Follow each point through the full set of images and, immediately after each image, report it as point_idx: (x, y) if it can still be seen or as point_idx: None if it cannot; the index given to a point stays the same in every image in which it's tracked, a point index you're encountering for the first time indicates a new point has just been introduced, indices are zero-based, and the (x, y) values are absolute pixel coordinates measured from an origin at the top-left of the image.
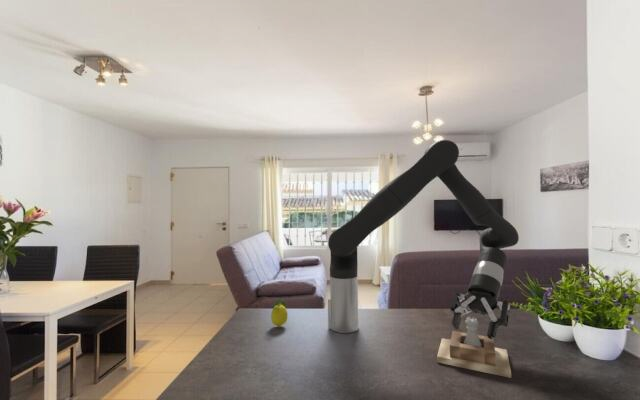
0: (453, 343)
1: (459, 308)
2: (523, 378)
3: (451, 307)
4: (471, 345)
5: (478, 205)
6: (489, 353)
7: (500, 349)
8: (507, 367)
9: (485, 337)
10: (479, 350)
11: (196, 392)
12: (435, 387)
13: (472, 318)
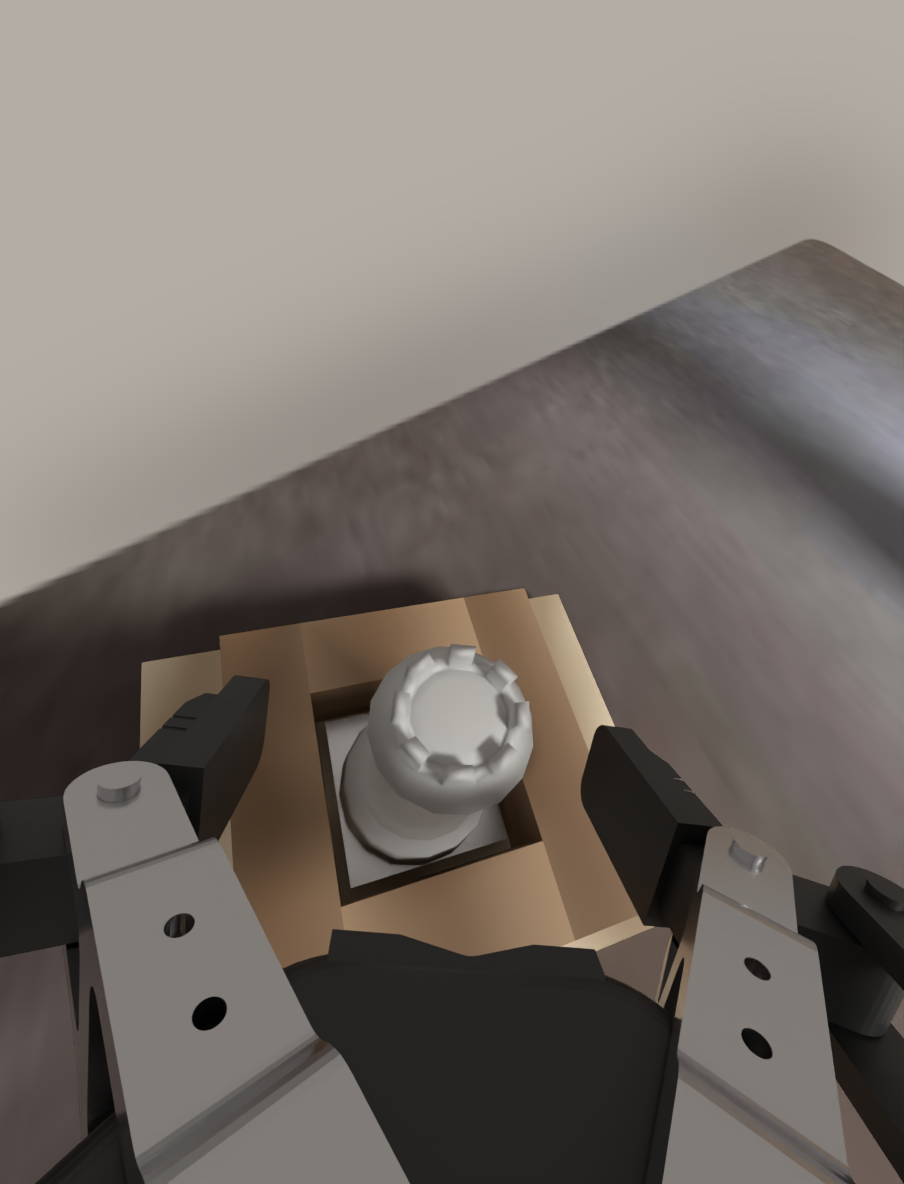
0: (517, 627)
1: (754, 893)
2: (76, 723)
3: (865, 877)
4: None
5: None
6: (264, 633)
7: None
8: (160, 703)
9: None
10: (333, 618)
11: (799, 247)
12: (457, 435)
13: (467, 771)
